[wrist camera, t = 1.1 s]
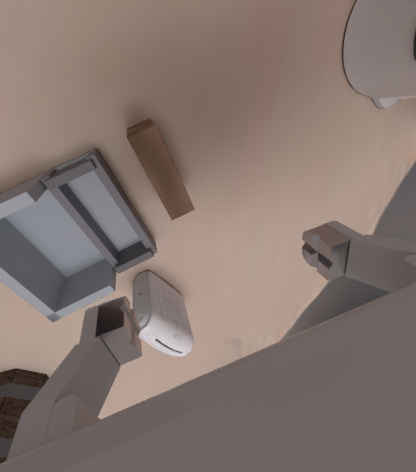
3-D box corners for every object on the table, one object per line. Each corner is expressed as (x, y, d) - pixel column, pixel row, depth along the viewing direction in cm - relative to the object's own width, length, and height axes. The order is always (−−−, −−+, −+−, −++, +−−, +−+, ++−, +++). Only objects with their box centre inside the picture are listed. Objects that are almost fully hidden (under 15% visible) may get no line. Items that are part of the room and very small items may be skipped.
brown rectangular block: (149, 118, 30) (156, 124, 23) (182, 188, 35) (195, 208, 29) (127, 129, 30) (127, 138, 23) (163, 197, 35) (172, 220, 29)
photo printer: (127, 281, 40) (128, 343, 30) (146, 265, 40) (153, 323, 30) (168, 308, 46) (179, 369, 36) (185, 295, 46) (202, 352, 35)
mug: (-32, 416, 45) (-92, 538, 33) (-34, 370, 40) (-106, 493, 27) (84, 405, 53) (71, 500, 41) (94, 365, 48) (83, 460, 36)
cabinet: (97, 147, 30) (89, 162, 23) (154, 238, 38) (160, 268, 31) (-18, 201, 29) (-61, 232, 22) (66, 282, 37) (52, 322, 31)
